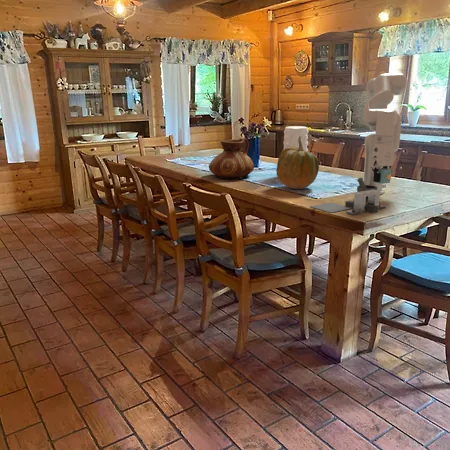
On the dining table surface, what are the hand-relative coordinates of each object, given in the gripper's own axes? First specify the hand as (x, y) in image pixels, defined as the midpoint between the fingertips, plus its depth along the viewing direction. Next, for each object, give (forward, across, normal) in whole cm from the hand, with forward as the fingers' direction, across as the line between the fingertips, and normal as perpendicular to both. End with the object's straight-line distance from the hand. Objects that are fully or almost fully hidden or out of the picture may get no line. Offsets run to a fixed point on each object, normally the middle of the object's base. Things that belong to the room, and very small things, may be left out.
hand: (380, 180), depth 197 cm
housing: (+15, 0, +7) cm, 17 cm away
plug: (+1, 0, -1) cm, 1 cm away
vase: (+16, +34, +93) cm, 100 cm away
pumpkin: (+16, +8, +64) cm, 66 cm away
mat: (+15, -9, +20) cm, 26 cm away
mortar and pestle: (+16, +16, +20) cm, 30 cm away
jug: (+16, -1, +118) cm, 119 cm away
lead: (+16, 0, +10) cm, 18 cm away
